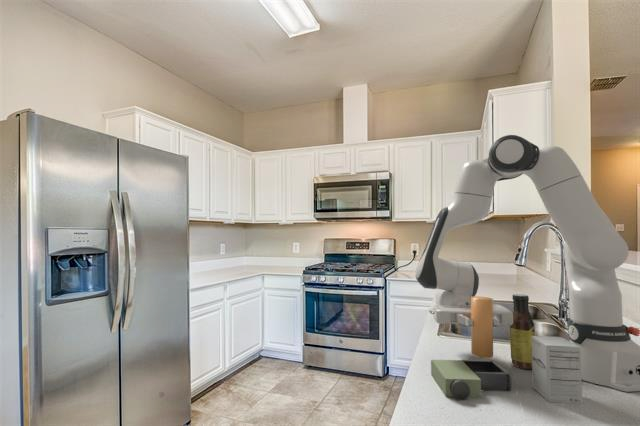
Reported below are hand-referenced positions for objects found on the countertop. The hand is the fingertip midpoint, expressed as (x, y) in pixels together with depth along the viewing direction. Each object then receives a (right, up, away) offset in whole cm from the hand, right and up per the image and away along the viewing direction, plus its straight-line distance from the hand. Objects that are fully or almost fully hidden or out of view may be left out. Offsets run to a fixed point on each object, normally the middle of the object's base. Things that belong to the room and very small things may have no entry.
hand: (483, 323), depth 87 cm
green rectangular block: (-8, -15, -2) cm, 17 cm away
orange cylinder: (0, -8, 0) cm, 8 cm away
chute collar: (0, -15, 0) cm, 15 cm away
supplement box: (+14, -15, -7) cm, 21 cm away
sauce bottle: (+17, -16, +11) cm, 26 cm away
